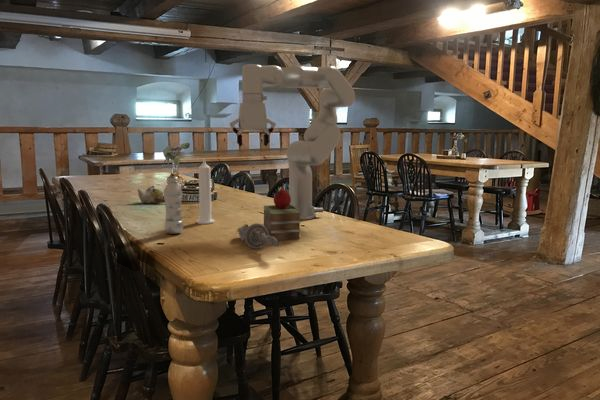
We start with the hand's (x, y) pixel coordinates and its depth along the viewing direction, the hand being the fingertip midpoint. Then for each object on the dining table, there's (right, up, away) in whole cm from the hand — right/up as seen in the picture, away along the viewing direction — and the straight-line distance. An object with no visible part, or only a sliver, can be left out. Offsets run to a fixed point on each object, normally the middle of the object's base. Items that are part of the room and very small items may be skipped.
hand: (253, 145), depth 186 cm
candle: (-19, -29, +9) cm, 36 cm away
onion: (+11, -24, -16) cm, 31 cm away
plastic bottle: (-27, -32, -11) cm, 43 cm away
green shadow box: (+11, -33, -15) cm, 38 cm away
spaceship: (+4, -36, -31) cm, 47 cm away
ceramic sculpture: (-53, -22, +56) cm, 80 cm away
